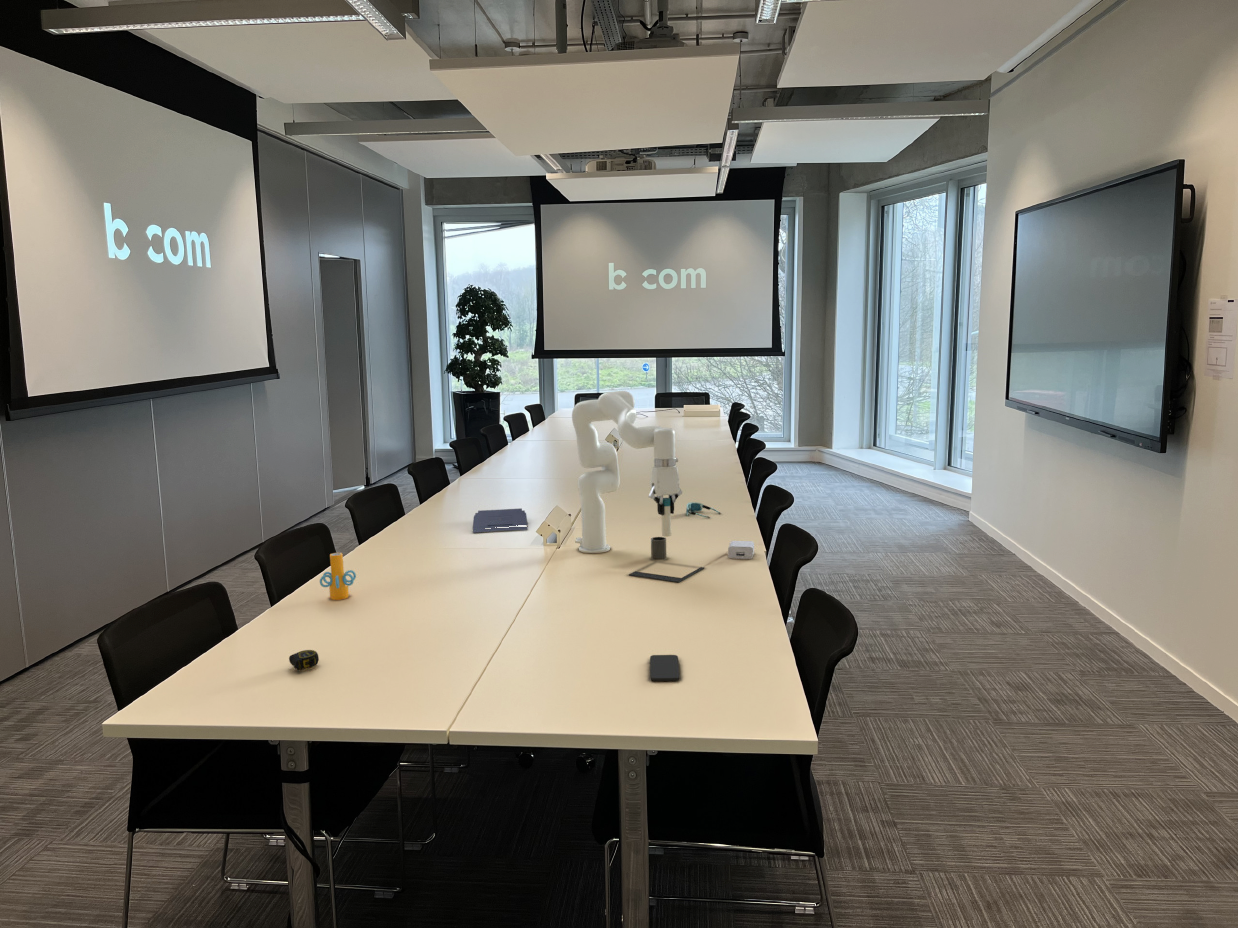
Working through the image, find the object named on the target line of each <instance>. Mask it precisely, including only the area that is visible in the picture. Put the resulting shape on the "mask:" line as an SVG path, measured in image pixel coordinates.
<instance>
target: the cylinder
mask: <svg viewBox="0 0 1238 928" xmlns="http://www.w3.org/2000/svg"><path fill="white" fill-rule="evenodd" d="M343 555H344V554H343V552H333V553H330V554H329V562H330V571H325V572H323V574H322V576H321V577H320V579H319V585H320V586H321V587H323V588H329V598H330V600H333V601H340V600H346V599H348V598H349V597H350V594H349V593H350V592H349V587H350V586H352V585H353V584H354V582H355V580H356V578H357V574H356V572H355V571H354V570H353V569H349V570H346V571H345V567H344V557H343ZM347 577H349V578H350V579H347ZM326 578H328V579H329V581H328V580H327V579H326ZM323 582H324V583H325V584H324V583H323Z"/></svg>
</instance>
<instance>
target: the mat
mask: <svg viewBox="0 0 1238 928" xmlns="http://www.w3.org/2000/svg"><path fill="white" fill-rule="evenodd" d="M704 569H705V567H704V566H700V567H698V568H696V569H695V570H693V571H691V572H689V573H687V574H686V575H684V576H682V577H677V576H672V575H671V576H670V575H663V574H657V573H650V572H643V571H636V570H635V571H633V572H630V573H628V576H630V577H637V578H644V579H651V580H658V581H664V582H670V583H675V584H678V583H681V582H683V581H685V580H686V579H688V578H691V577H692V576H693V575H696V574H697V573H699V572H701V571H702V570H704Z"/></svg>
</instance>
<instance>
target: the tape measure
mask: <svg viewBox="0 0 1238 928" xmlns="http://www.w3.org/2000/svg"><path fill="white" fill-rule="evenodd" d="M319 657H320V656H319V653H318V652H317V651H316V650H314V649H304V650H300V651H298V652H296V653H293V654H291V655H289V656H288V659H289V660H288V661H289V663H290V665H291V666H292V667H294V669H295V670H297V671H298V672H300V671H302V670H306V669H307V670H308V669H311V668H314V667H316V666H317V665H318V664H319V661H320V658H319Z"/></svg>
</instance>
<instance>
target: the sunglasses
mask: <svg viewBox="0 0 1238 928" xmlns="http://www.w3.org/2000/svg"><path fill="white" fill-rule="evenodd" d="M703 509H705V510H708V511H710V510H712V511H714V512H716V513H717V514H719V515H721V514H722V513H721V512H720V511H718V510H717V509H715V508H713V507H711V506H709V505H705V504H704V503H701V502H695V501H693V502H688V503H687V504H686V509H685V513H686V514H685V515H686V516H689V514H690V515H692V516H698V517H702V518H708V519H710V518H711V516H708V515H703V514H700V513H698V512H701V511H702V510H703Z"/></svg>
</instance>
